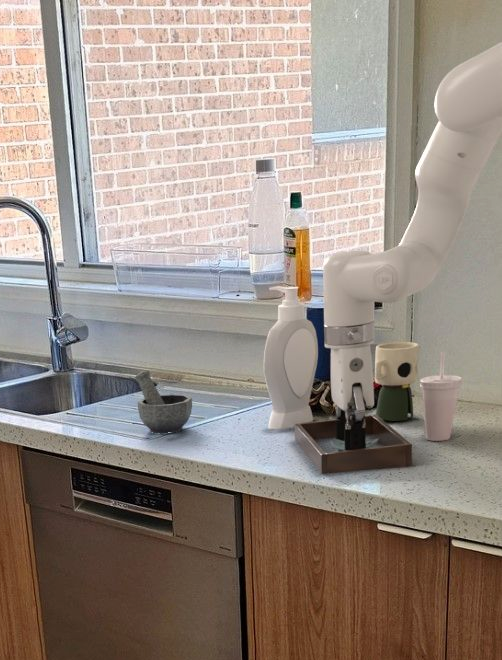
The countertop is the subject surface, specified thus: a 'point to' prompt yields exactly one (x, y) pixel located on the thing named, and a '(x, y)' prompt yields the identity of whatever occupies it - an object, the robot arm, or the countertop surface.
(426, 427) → the smoothie
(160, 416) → the mortar and pestle
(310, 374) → the soap bottle
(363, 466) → the crate
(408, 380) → the character mug
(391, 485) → the countertop surface
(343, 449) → the pacifier
